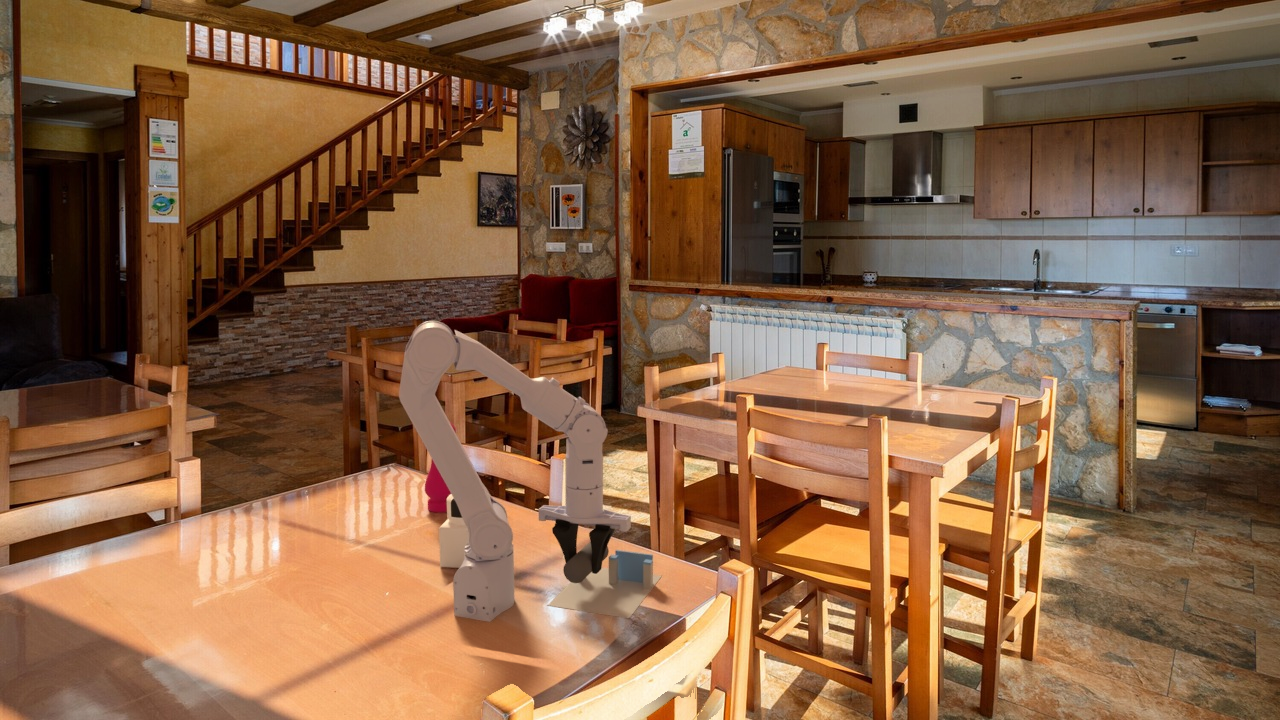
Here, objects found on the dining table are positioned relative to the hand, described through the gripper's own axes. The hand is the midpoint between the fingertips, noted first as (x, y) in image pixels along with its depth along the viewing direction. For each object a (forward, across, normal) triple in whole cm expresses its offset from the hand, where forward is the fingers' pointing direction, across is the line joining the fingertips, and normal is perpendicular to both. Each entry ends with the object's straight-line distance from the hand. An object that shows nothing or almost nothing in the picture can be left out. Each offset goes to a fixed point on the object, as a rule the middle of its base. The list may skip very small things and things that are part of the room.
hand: (584, 569), depth 127 cm
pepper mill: (+5, +44, -30) cm, 54 cm away
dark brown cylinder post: (+1, 0, -1) cm, 1 cm away
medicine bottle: (+5, +25, -7) cm, 26 cm away
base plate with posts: (+4, -3, -2) cm, 6 cm away
